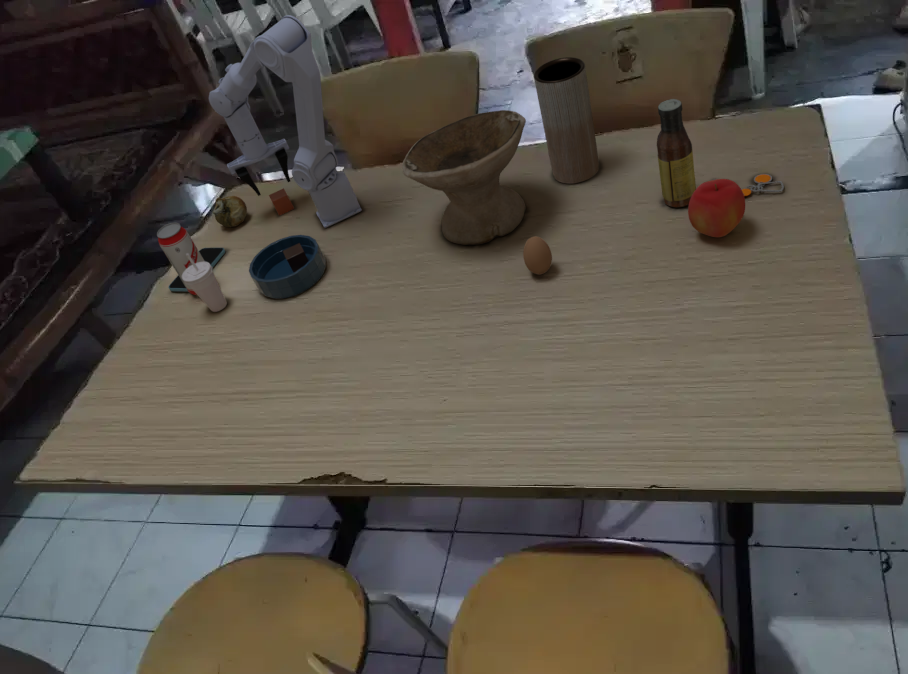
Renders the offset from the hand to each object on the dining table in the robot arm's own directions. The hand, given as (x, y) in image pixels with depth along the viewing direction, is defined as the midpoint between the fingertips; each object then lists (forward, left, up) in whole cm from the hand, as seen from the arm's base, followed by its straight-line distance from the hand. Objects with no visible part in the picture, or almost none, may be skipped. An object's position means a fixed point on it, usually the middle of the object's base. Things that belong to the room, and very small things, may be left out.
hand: (273, 187), depth 175 cm
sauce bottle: (-68, +64, -6) cm, 94 cm away
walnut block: (+3, +28, -6) cm, 28 cm away
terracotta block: (0, 0, -6) cm, 6 cm away
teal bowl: (+5, +29, -6) cm, 30 cm away
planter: (-59, +40, -6) cm, 72 cm away
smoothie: (+22, +27, -6) cm, 35 cm away
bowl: (-36, +41, -6) cm, 55 cm away
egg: (-37, +65, -6) cm, 75 cm away
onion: (+12, -4, -6) cm, 14 cm away
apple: (-67, +77, -6) cm, 102 cm away
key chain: (-79, +70, -6) cm, 106 cm away
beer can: (+24, +18, -6) cm, 31 cm away
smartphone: (+24, +10, -6) cm, 27 cm away
